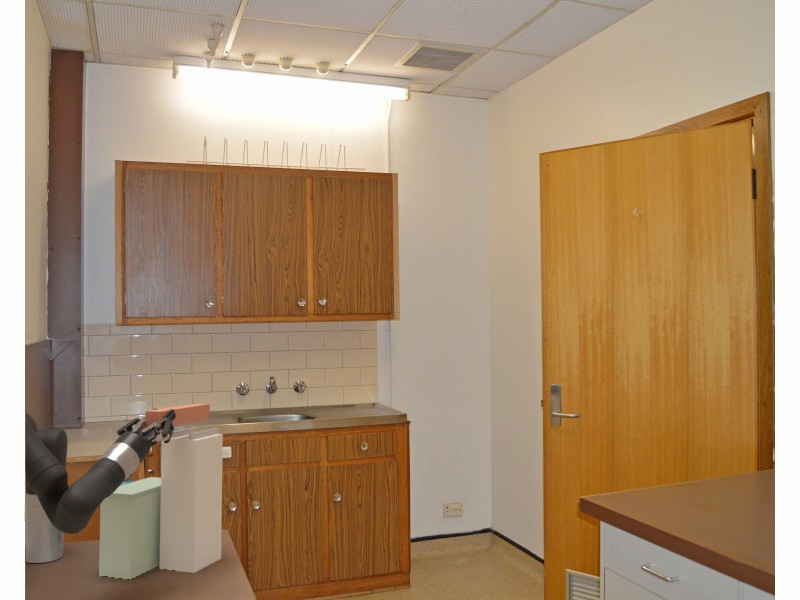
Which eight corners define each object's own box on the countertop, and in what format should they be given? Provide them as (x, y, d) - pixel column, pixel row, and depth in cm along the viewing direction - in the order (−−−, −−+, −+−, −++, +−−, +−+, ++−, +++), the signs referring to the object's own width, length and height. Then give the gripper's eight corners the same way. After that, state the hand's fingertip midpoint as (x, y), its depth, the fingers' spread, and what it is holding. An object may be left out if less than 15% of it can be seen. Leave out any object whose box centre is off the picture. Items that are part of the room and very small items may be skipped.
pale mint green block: (97, 576, 174) (98, 491, 175) (149, 553, 193) (150, 477, 194) (130, 580, 172) (132, 494, 172) (180, 556, 190) (181, 479, 191)
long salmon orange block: (145, 428, 171) (145, 411, 171) (196, 418, 191) (196, 403, 191) (159, 428, 170) (160, 411, 170) (209, 419, 189) (209, 404, 190)
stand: (159, 569, 180) (161, 432, 182) (187, 555, 191) (189, 426, 193) (194, 573, 177) (196, 434, 179) (221, 558, 188) (222, 428, 190)
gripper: (145, 445, 157) (186, 399, 171) (91, 442, 161) (135, 398, 176) (155, 472, 160) (195, 425, 174) (102, 469, 164) (145, 423, 179)
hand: (165, 412), depth 175 cm, fingers closed on long salmon orange block, 4 cm apart
